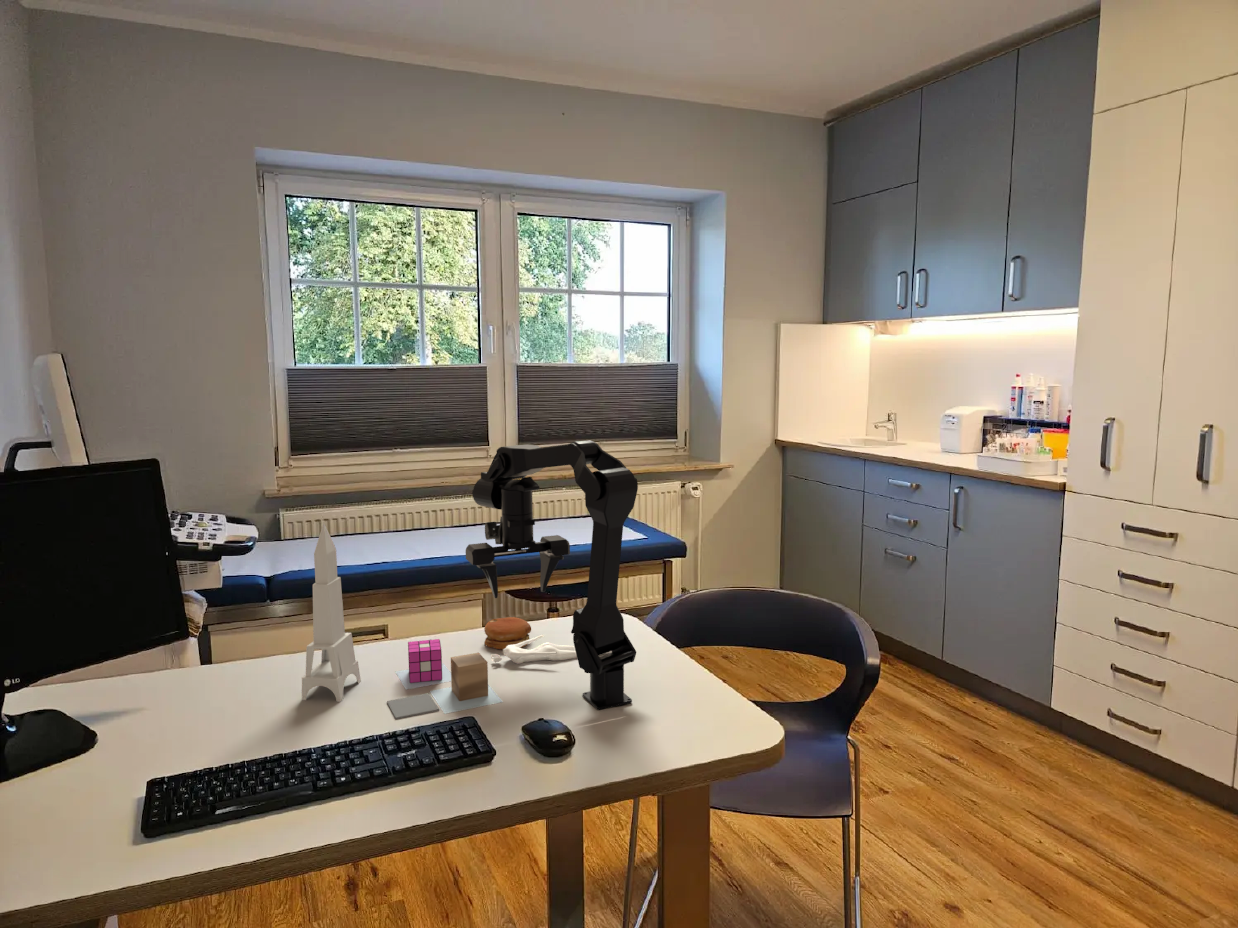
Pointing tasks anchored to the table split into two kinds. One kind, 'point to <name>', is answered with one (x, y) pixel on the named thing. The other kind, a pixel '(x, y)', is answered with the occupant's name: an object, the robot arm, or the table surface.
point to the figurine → (537, 652)
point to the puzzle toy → (425, 660)
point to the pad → (412, 706)
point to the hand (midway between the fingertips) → (519, 594)
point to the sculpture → (328, 626)
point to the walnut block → (469, 676)
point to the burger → (506, 632)
